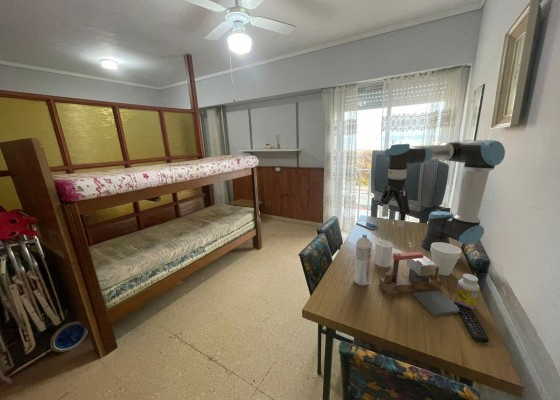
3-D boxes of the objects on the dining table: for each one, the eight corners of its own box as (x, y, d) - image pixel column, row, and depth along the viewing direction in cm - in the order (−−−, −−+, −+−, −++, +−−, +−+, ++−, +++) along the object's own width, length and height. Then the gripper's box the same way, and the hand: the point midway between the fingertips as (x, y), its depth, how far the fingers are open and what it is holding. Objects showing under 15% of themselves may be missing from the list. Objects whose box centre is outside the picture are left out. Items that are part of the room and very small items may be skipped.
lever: (418, 254, 100) (418, 251, 99) (423, 258, 96) (424, 254, 96) (391, 257, 98) (391, 253, 98) (395, 260, 95) (395, 257, 95)
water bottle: (361, 288, 102) (365, 239, 96) (350, 280, 108) (353, 233, 102) (371, 283, 105) (376, 235, 99) (360, 276, 111) (364, 230, 105)
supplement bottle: (450, 299, 94) (455, 272, 90) (464, 297, 94) (470, 271, 91) (464, 310, 87) (470, 282, 84) (479, 309, 88) (486, 281, 84)
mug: (386, 272, 114) (389, 251, 111) (370, 266, 119) (371, 246, 116) (392, 262, 122) (395, 242, 119) (377, 257, 128) (378, 238, 125)
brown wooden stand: (430, 280, 106) (435, 252, 102) (440, 288, 100) (445, 258, 96) (379, 285, 104) (382, 256, 100) (386, 294, 98) (389, 263, 94)
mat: (437, 292, 98) (438, 290, 98) (461, 312, 86) (462, 310, 86) (412, 294, 97) (412, 292, 97) (433, 315, 85) (434, 313, 85)
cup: (430, 276, 109) (435, 251, 106) (424, 263, 120) (428, 240, 117) (460, 280, 105) (466, 255, 101) (451, 267, 116) (456, 243, 112)
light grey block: (420, 263, 104) (421, 254, 103) (434, 274, 96) (436, 264, 94) (406, 264, 104) (407, 255, 102) (419, 275, 95) (421, 265, 94)
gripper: (375, 174, 113) (372, 213, 118) (405, 183, 89) (400, 231, 94) (389, 173, 113) (386, 212, 119) (423, 182, 89) (416, 230, 95)
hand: (392, 221), depth 107 cm, fingers open, 13 cm apart
